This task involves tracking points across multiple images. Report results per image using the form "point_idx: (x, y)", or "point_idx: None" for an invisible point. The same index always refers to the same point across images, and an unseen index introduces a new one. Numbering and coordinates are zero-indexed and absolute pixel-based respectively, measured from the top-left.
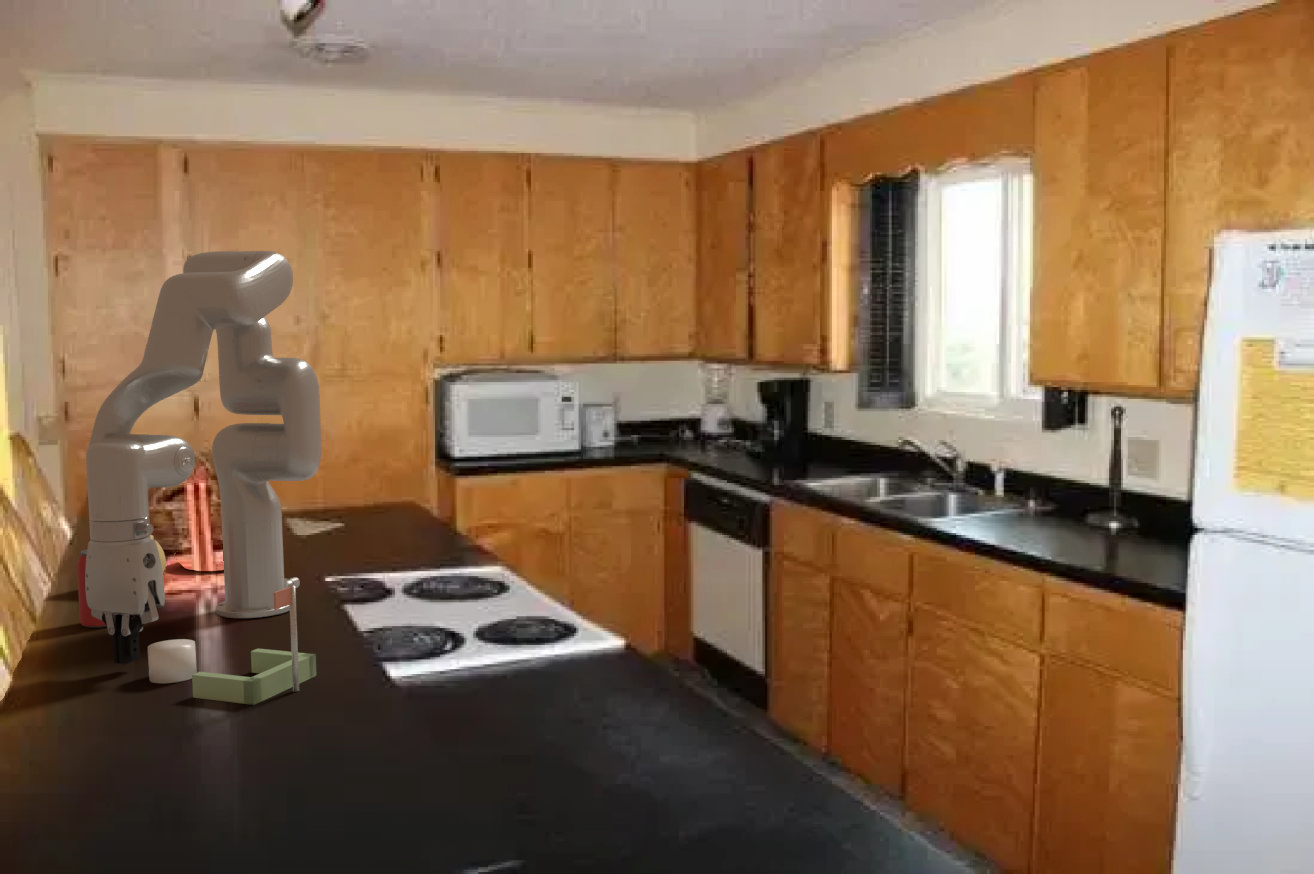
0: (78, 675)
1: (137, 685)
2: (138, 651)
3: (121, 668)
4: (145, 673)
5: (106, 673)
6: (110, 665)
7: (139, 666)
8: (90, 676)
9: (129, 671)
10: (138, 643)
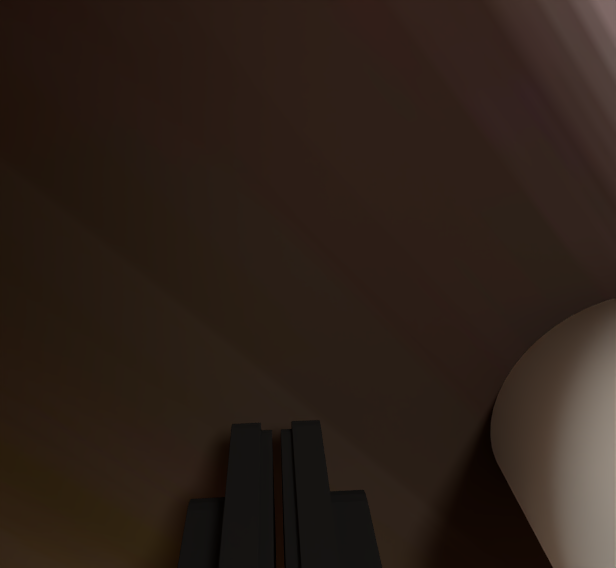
0: (62, 555)
1: (510, 556)
2: (364, 504)
3: (174, 394)
4: (408, 415)
5: (179, 486)
6: (39, 372)
7: (252, 325)
8: (144, 545)
9: (279, 419)
10: (380, 561)
